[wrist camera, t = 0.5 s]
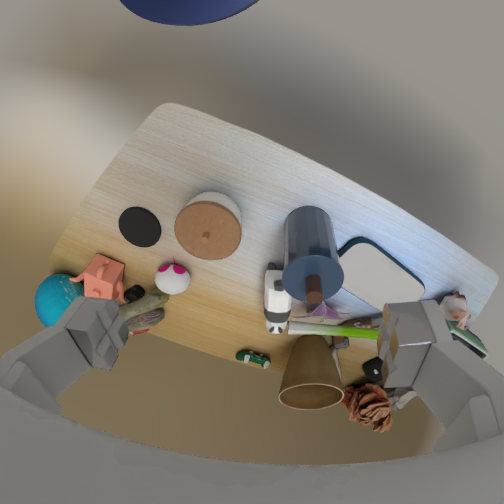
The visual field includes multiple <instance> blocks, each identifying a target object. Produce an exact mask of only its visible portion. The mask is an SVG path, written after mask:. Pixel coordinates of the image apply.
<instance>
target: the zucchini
mask: <svg viewBox="0 0 504 504" xmlns="http://www.w3.org/2000/svg"><path fill="white" fill-rule="evenodd" d="M169 296H170V294H167V293H164V292H162V291H161V290H160V289H159V288H158V287H156V288H155V289H153V290H152V291H151V292H149V293H148V294H146V295H145V296H144V297H142V298H140V299H139V300H137V301H135V302H132V303H129V304H126V305H123V306H120V312H119V314H120V315H121V316H122V317H123V318H124V319H125V320H126V321H127V320H128V319H130V318H131V317H134V316H137V315H139V314H143V313H145V312H149V311H151V310H153V309H156V308H160V307H162V306H164V304H165V303H166V302H167V301H168V299H169Z"/></svg>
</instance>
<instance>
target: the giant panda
mask: <svg viewBox="0 0 504 504" xmlns="http://www.w3.org/2000/svg"><path fill="white" fill-rule="evenodd" d="M282 273H283V271H281V270H276V265H275V263H269V265H268V269H267V271H266V274H265V291H264V314H265V316H266V326H267V329H268V330H269V332H270V333H275V334H277V333H282V332H283V331H284V329H285V327H286V324H287V319H288V317H289V316H290V312H291V305H292V296H290V295H289V294H288V293H287V292H286V291H285V289H284V288H283V285H282Z"/></svg>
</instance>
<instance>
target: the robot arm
mask: <svg viewBox="0 0 504 504" xmlns="http://www.w3.org/2000/svg"><path fill="white" fill-rule="evenodd" d="M119 312H120V307H119V306H118V304H117V302H116V301H115V300H112V299H104V298H95V297H84V296H79V297H77V298H75V300H74V301H73V302H72V303H71V304H70V306H69V307H68V308H67V309H66V311H65V312H64V313H63V314H62V316H61V317H60V318H59V320H58V321H57V322H56V323H55V325H54V326H49V327H47V328H46V329H44V330H42V331H41V332H39V333H37V334H36V335H34V336H32V337H31V338H29V339H27V340H26V341H24V342H22V343H21V344H19V345H17V346H16V347H14V348H12V349H11V350H9V351H8V352H6V353H4V355H3V356H2V357H1V359H0V504H504V376H503V375H502V374H500V373H499V372H498V371H497V370H495V369H494V368H493V367H492V366H491V365H489V364H488V363H487V362H486V361H484V360H483V359H482V358H480V357H479V356H478V355H477V354H475V353H474V352H473V351H472V350H470V349H469V348H468V347H466V346H465V345H464V344H463V343H461V342H460V341H459V340H453V338H452V335H451V333H450V331H449V328H448V326H447V324H446V321H445V319H444V317H443V314H442V312H441V310H440V308H439V306H438V304H437V302H436V301H435V300H422V301H413V302H397V303H385V305H384V307H383V311H382V316H383V321H384V322H383V323H381V324H380V325H379V330H378V337H377V348H378V355H379V358H380V359H382V360H383V364H382V367H381V373H382V379H383V385H384V388H393V387H406V386H412V388H413V390H414V391H415V392H416V393H417V394H418V395H419V397H420V398H421V399H422V400H423V401H424V403H425V404H426V405H427V406H428V407H429V408H430V410H431V411H432V412H433V413H434V414H435V416H436V417H437V418H438V419H439V421H440V422H441V423H442V424H443V426H444V427H445V428H446V430H445V431H444V432H443V433H442V434H441V436H440V437H439V438H438V439H437V440H436V442H435V443H434V444H433V451H434V453H431V454H426V455H421V456H415V457H409V458H402V459H396V460H389V461H380V462H370V463H359V464H344V465H277V464H261V463H249V462H239V461H231V460H222V459H216V458H209V457H203V456H197V455H192V454H186V453H181V452H176V451H172V450H167V449H163V448H159V447H154V446H151V445H146V444H143V443H139V442H135V441H132V440H128V439H125V438H122V437H118V436H115V435H112V434H109V433H106V432H103V431H100V430H97V429H94V428H91V427H89V426H86V425H83V424H80V423H78V422H76V421H73V420H70V419H68V418H66V417H63V416H61V415H60V414H61V412H62V410H63V409H62V406H61V405H60V404H59V403H58V401H56V398H57V397H58V396H59V395H60V394H61V393H63V392H64V391H65V390H66V389H67V388H68V387H70V386H71V385H72V384H73V383H74V382H76V381H77V380H78V379H79V378H80V377H82V376H83V375H84V374H85V373H86V372H87V371H89V370H90V369H91V367H95V368H100V369H105V370H111V369H112V367H113V365H114V363H115V362H116V360H117V358H118V350H119V349H120V348H122V347H123V346H124V345H125V343H126V341H127V339H128V333H129V330H128V325H127V322H126V320H125V319H124V318H123V317H122V316H121V315H120V314H119Z"/></svg>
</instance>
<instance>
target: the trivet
mask: <svg viewBox="0 0 504 504" xmlns="http://www.w3.org/2000/svg"><path fill="white" fill-rule="evenodd" d="M119 229H120V231H121V233H122V235H123V236H124V238H125V239H126V240H127V241H129V242H130V243H132V244H133V245H136V246H139V247H150V246H152V245H154V244H155V243H156V242H157V241H158V240H159V238H160V235H161V226H160V223H159V221H158V219H157V218H156V217H155V216H154V215H153V214H152V213H151V212H150V211H148V210H146V209H144V208H141V207H131V208H128V209H126V210H125V211H124V212H123V213H122V214H121V216H120V218H119Z"/></svg>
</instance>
